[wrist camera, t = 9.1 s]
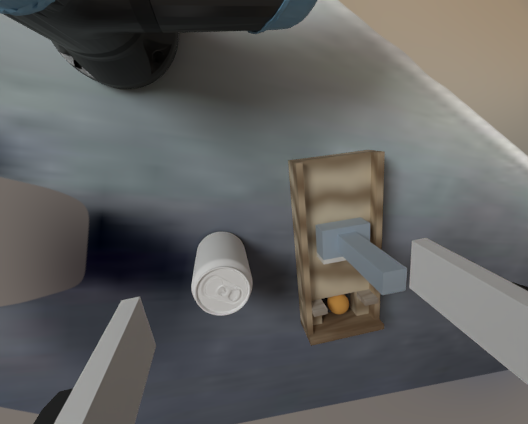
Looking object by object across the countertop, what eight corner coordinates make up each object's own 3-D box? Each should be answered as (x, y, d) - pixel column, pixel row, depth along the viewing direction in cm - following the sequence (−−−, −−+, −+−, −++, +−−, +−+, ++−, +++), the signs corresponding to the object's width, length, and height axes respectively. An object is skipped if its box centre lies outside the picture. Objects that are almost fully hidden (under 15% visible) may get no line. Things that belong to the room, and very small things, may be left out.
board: (288, 160, 43) (299, 164, 37) (368, 149, 45) (390, 152, 39) (300, 322, 53) (311, 345, 47) (366, 308, 54) (383, 328, 49)
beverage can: (210, 222, 44) (208, 254, 32) (253, 241, 46) (264, 277, 34) (188, 262, 45) (179, 307, 34) (231, 279, 47) (236, 326, 36)
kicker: (315, 224, 44) (362, 269, 30) (360, 217, 45) (427, 256, 31) (316, 256, 45) (362, 312, 31) (360, 248, 46) (423, 299, 32)
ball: (328, 294, 49) (334, 317, 47) (349, 289, 49) (355, 312, 48) (322, 294, 52) (327, 315, 51) (341, 290, 53) (346, 311, 52)
